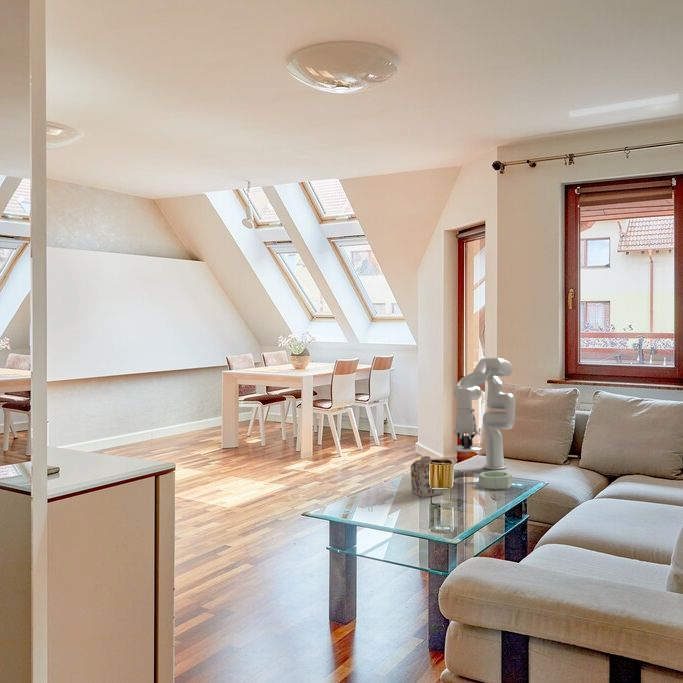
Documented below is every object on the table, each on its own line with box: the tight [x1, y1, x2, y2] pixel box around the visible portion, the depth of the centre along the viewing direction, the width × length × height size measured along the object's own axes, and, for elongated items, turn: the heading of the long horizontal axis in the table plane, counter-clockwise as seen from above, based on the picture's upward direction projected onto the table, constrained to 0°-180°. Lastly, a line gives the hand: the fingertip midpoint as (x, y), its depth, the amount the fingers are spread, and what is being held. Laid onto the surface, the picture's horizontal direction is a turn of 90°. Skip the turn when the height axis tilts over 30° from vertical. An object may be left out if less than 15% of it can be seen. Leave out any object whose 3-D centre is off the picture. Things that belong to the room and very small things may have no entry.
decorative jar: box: [410, 455, 444, 498], centre depth 330 cm, size 12×12×18 cm
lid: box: [451, 435, 483, 453], centre depth 352 cm, size 16×16×7 cm
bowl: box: [478, 470, 513, 490], centre depth 338 cm, size 15×15×6 cm
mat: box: [455, 481, 479, 486], centre depth 352 cm, size 17×17×1 cm
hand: (466, 446), depth 352 cm, fingers closed on lid, 3 cm apart
